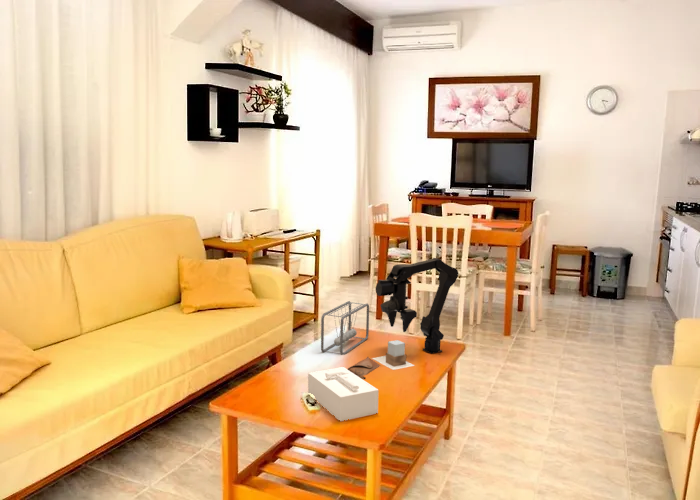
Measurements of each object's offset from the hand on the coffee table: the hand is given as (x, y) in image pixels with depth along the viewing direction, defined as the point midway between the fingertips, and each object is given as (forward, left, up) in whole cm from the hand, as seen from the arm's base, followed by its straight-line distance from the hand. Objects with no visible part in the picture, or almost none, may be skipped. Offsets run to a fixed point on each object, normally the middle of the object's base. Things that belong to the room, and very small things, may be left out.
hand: (398, 329), depth 263 cm
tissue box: (+48, +33, -12) cm, 59 cm away
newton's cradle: (+13, -23, -12) cm, 29 cm away
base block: (+8, +10, -11) cm, 17 cm away
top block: (+8, +10, -7) cm, 15 cm away
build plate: (+8, +8, -12) cm, 16 cm away
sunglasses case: (+23, +10, -13) cm, 28 cm away
